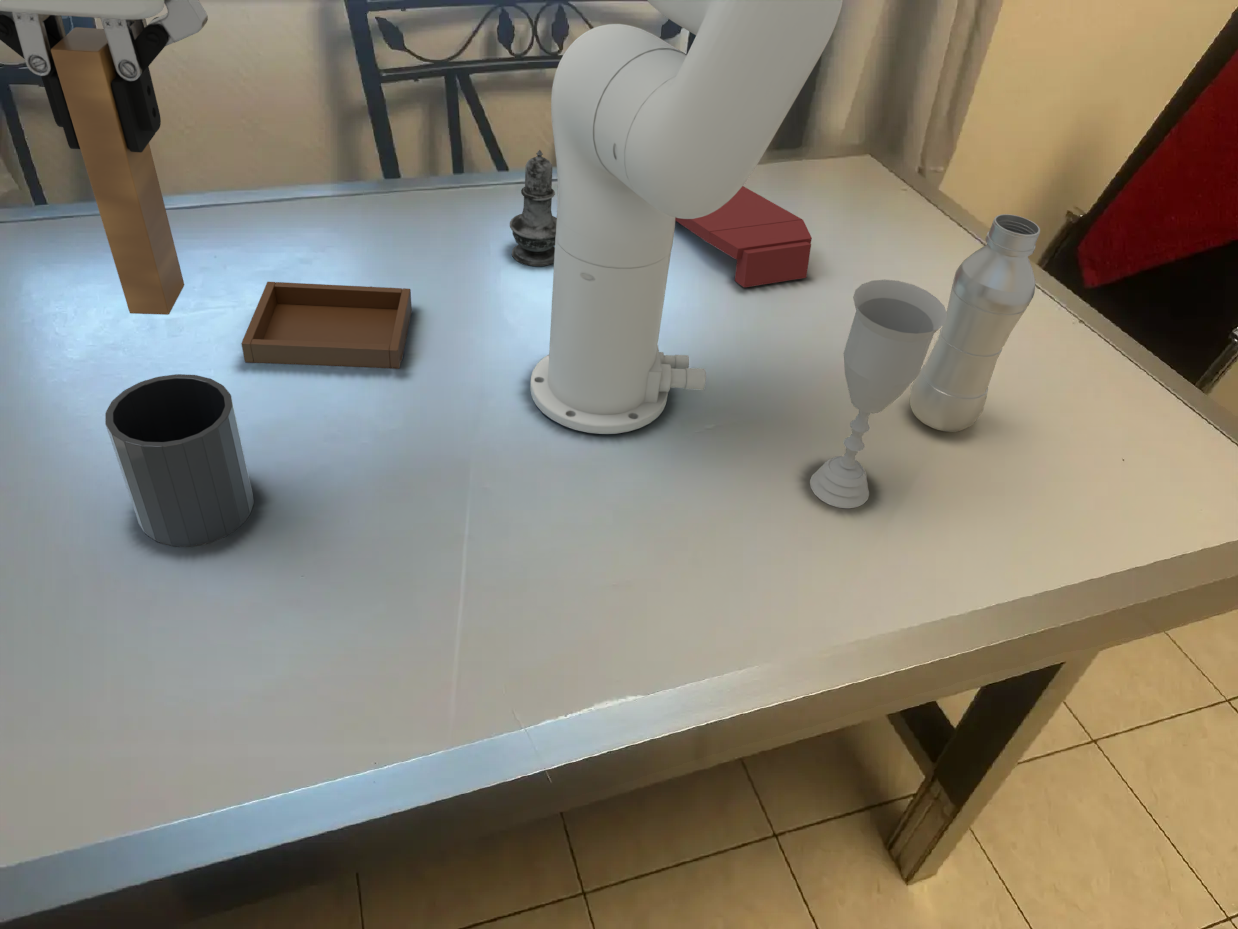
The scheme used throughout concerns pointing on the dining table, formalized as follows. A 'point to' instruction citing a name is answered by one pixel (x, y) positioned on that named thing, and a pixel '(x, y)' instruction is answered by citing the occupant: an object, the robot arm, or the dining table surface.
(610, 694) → the dining table surface
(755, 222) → the red chamfered block
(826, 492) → the chalice
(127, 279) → the wooden block
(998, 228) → the plastic bottle
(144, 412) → the cup
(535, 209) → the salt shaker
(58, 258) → the dining table surface
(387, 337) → the tray
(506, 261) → the dining table surface
